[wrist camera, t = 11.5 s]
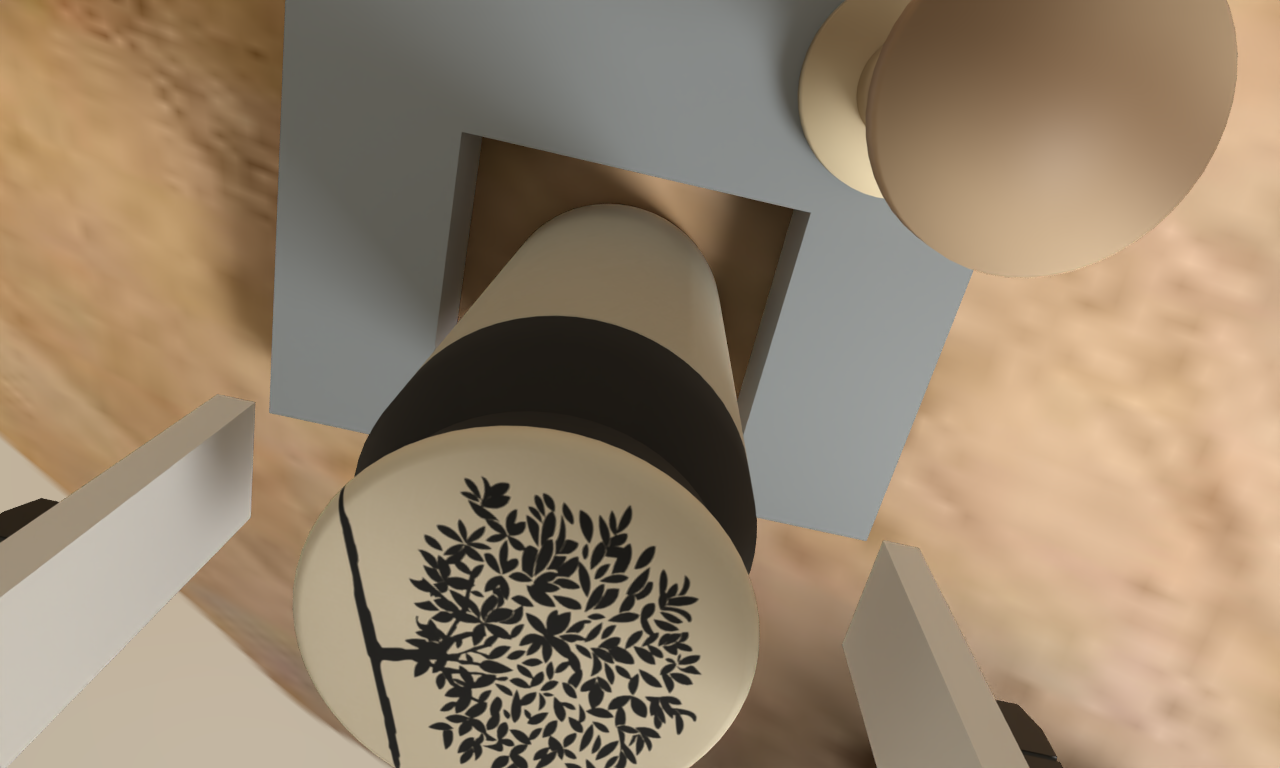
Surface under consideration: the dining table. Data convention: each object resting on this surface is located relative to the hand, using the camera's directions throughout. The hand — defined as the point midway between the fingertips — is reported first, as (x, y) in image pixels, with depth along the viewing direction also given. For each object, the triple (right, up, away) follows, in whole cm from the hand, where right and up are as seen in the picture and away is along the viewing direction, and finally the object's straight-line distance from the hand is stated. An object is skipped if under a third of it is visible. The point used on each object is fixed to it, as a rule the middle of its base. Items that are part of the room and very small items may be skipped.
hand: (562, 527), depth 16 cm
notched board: (+1, +9, +11) cm, 14 cm away
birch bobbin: (+9, +12, +7) cm, 16 cm away
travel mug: (+1, +6, +13) cm, 14 cm away
